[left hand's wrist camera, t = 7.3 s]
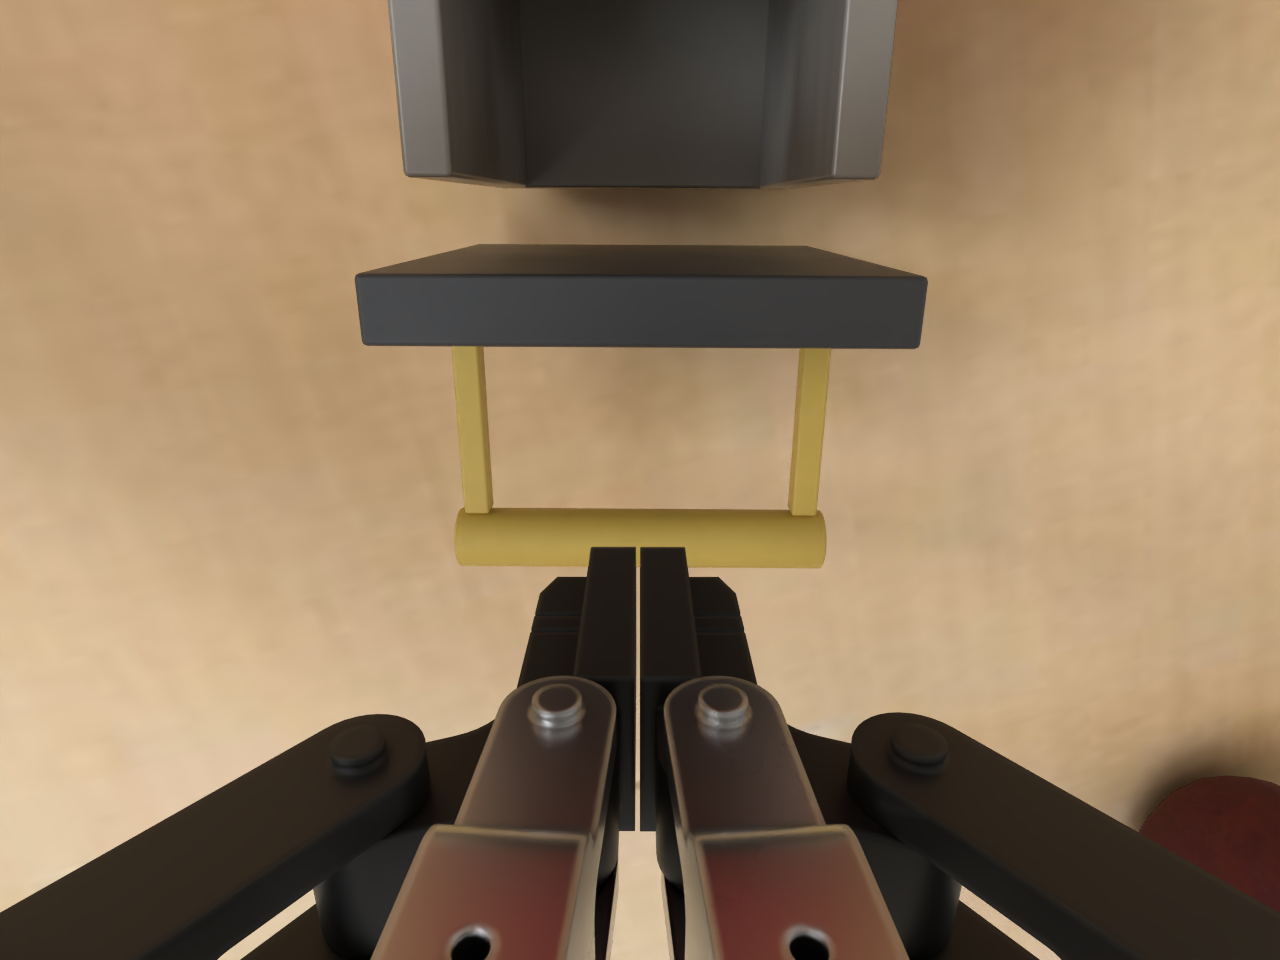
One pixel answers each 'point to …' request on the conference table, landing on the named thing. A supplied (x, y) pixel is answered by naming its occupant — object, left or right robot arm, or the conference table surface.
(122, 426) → the conference table surface
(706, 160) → the drawer
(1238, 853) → the dark red ball
